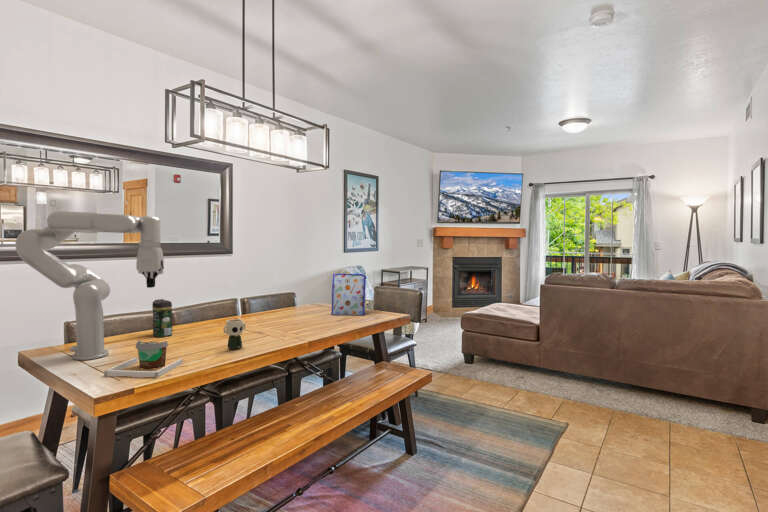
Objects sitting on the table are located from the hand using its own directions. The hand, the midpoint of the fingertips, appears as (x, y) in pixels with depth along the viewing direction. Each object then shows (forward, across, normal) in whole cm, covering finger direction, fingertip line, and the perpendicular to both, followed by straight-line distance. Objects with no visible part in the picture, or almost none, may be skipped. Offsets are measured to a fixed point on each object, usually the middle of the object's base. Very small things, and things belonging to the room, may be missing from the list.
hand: (150, 287), depth 183 cm
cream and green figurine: (+29, +33, +11) cm, 45 cm away
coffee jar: (+29, -14, +30) cm, 44 cm away
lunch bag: (+28, +70, +103) cm, 127 cm away
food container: (+29, +12, -20) cm, 37 cm away
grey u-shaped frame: (+29, +12, -21) cm, 38 cm away
